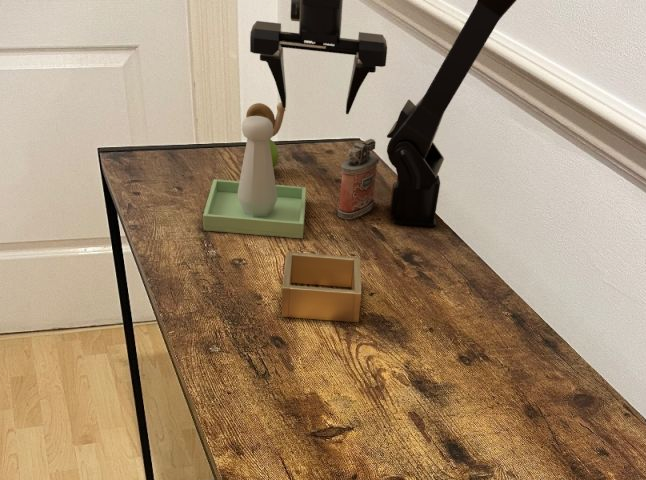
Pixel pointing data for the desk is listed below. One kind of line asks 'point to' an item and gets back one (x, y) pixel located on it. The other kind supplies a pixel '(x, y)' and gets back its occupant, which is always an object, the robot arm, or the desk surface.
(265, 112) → the snail figurine
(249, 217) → the tray
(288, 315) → the open brown box
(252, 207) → the salt shaker
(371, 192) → the lighter
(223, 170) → the desk surface
